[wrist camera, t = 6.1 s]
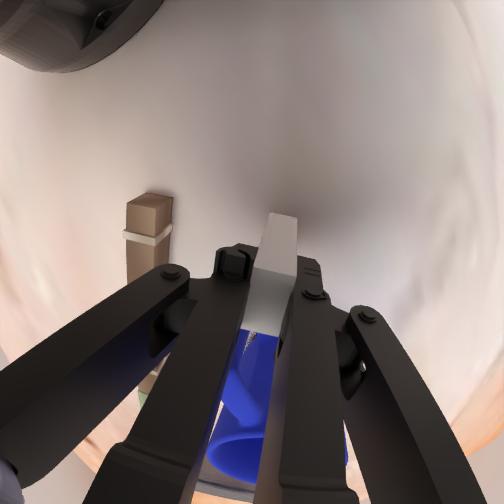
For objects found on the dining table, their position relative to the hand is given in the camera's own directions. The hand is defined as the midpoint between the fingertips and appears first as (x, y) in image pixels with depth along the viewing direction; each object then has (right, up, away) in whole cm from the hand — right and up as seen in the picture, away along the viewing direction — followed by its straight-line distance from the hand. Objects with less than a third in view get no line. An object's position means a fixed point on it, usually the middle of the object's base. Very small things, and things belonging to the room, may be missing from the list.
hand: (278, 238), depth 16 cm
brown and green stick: (-10, -10, +9) cm, 17 cm away
